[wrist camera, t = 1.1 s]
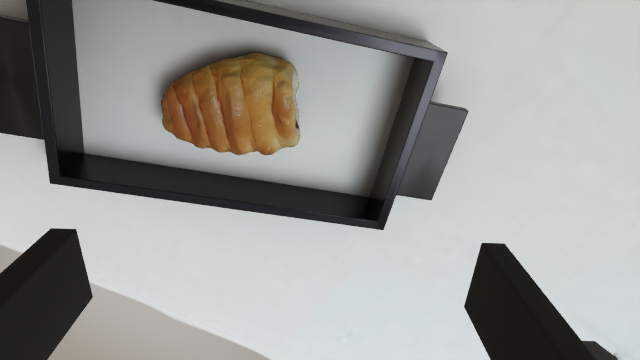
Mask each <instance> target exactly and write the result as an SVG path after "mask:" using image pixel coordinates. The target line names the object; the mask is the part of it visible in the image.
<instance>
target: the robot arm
mask: <svg viewBox="0 0 640 360" xmlns="http://www.w3.org/2000/svg"><path fill="white" fill-rule="evenodd" d="M92 297H93V296H92V292H91V288H90V284H89V280H88V276H87V272H86V268H85V264H84V260H83V256H82V252H81V248H80V244H79V239H78V235H77V231H76V229H52V228H51V229H50V230H49V231H48V232H47V233H45V234H44V235H43V236H42V237H41V238H40V239H39V240H38V241H36V242H35V243H34V244H33V245H32V246H31V247H30V248H29V249H27V250H26V251H25V252H24V253H23V254H22V255H21V256H20V257H18V258H17V259H16V260H15V261H14V262H13V263H12V264H11V265H9V266H8V267H7V268H6V269H5V270H4V271H3V272H2V273H0V360H47V359H48V358H49V356H50V355H51V354H52V352H53V351H54V350H55V348H56V347H57V345H58V344H59V343H60V341H61V340H62V339H63V337H64V336H65V334H66V333H67V332H68V330H69V329H70V327H71V326H72V325H73V323H74V322H75V321H76V319H77V318H78V316H79V315H80V314H81V312H82V311H83V310H84V308H85V307H86V306H87V304H88V303H89V301H90V300H91V299H92ZM464 307H465V309H466V311H467V313H468V315H469V317H470V319H471V321H472V323H473V325H474V327H475V329H476V331H477V333H478V335H479V337H480V339H481V341H482V343H483V345H484V347H485V349H486V351H487V353H488V355H489V357H490V359H491V360H618V359H617V358H616V357H614V356H613V355H612V354H611V353H609V352H608V351H607V350H605V349H604V348H603V347H601V346H600V345H599V344H598V343H596V342H595V341H581V340H580V338H579V337H578V336H577V335H576V333H575V332H574V331H573V330H572V328H571V327H570V326H569V325H568V323H567V322H566V321H565V319H564V318H563V317H562V316H561V314H560V313H559V312H558V311H557V309H556V308H555V307H554V306H553V304H552V303H551V302H550V301H549V299H548V298H547V297H546V296H545V294H544V293H543V292H542V290H541V289H540V288H539V287H538V285H537V284H536V283H535V282H534V280H533V279H532V278H531V277H530V275H529V274H528V273H527V272H526V270H525V269H524V268H523V267H522V265H521V264H520V263H519V261H518V260H517V259H516V258H515V256H514V255H513V254H512V253H511V251H510V250H509V249H508V248H507V246H506V245H505V244H497V243H482V244H481V248H480V252H479V255H478V259H477V262H476V266H475V270H474V273H473V277H472V281H471V284H470V288H469V291H468V295H467V299H466V302H465V306H464Z"/></svg>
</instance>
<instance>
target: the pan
mask: <svg viewBox="0 0 640 360" xmlns="http://www.w3.org/2000/svg"><path fill="white" fill-rule="evenodd" d="M154 1H158V2H163V3H167V4H172V5H176V6H181V7H186V8H190V9H195V10H199V11H204V12H208V13H213V14H218V15H222V16H227V17H231V18H236V19H240V20H245V21H249V22H254V23H259V24H263V25H268V26H272V27H277V28H281V29H286V30H291V31H295V32H300V33H304V34H309V35H313V36H318V37H322V38H327V39H332V40H336V41H341V42H345V43H350V44H354V45H359V46H364V47H368V48H373V49H377V50H382V51H386V52H391V53H395V54H400V55H405V56H409V57H414V58H415V59H414V62H413V65H412V68H411V71H410V74H409V77H408V80H407V83H406V86H405V89H404V92H403V95H402V99H401V102H400V105H399V108H398V111H397V114H396V117H395V120H394V123H393V126H392V129H391V132H390V135H389V138H388V141H387V145H386V148H385V151H384V154H383V157H382V160H381V163H380V166H379V169H378V172H377V175H376V178H375V181H374V184H373V188H372V191H371V194H370V197H363V196H357V195H350V194H344V193H337V192H330V191H324V190H317V189H311V188H304V187H298V186H291V185H285V184H278V183H272V182H265V181H259V180H252V179H246V178H239V177H233V176H226V175H220V174H213V173H207V172H200V171H194V170H187V169H181V168H174V167H168V166H161V165H155V164H148V163H142V162H135V161H129V160H122V159H115V158H109V157H102V156H96V155H89V154H84V148H83V135H82V123H81V110H80V98H79V85H78V73H77V60H76V48H75V35H74V23H73V11H72V0H26V3H27V11H28V18H29V21H28V20H23V19H18V18H13V17H8V16H3V15H0V133H5V134H11V135H18V136H24V137H30V138H37V139H43V140H45V148H46V155H47V163H48V170H49V179H50V183H51V184H58V185H65V186H73V187H80V188H87V189H94V190H101V191H108V192H115V193H123V194H130V195H137V196H144V197H151V198H158V199H165V200H173V201H180V202H187V203H194V204H201V205H208V206H215V207H222V208H230V209H237V210H244V211H251V212H258V213H265V214H272V215H280V216H287V217H294V218H301V219H308V220H315V221H322V222H330V223H337V224H344V225H351V226H358V227H365V228H372V229H379V230H384V227H385V224H386V221H387V219H388V216H389V213H390V210H391V208H392V205H393V202H394V199H395V196H396V195H401V196H407V197H413V198H420V199H426V200H432V198H433V195H434V193H435V190H436V188H437V186H438V183H439V181H440V178H441V176H442V174H443V171H444V169H445V166H446V164H447V162H448V159H449V157H450V154H451V152H452V150H453V147H454V145H455V142H456V140H457V138H458V135H459V133H460V130H461V128H462V126H463V123H464V121H465V118H466V116H467V114H468V110H466V109H465V108H461V107H456V106H451V105H446V104H441V103H436V102H431V101H430V100H431V97H432V95H433V92H434V89H435V86H436V84H437V81H438V78H439V75H440V73H441V70H442V67H443V64H444V62H445V59H446V56H447V52H446V51H444V50H442V49H440V48H439V47H437V46H435V45H434V44H432V43H430V42H427V41H422V40H418V39H414V38H409V37H405V36H400V35H396V34H392V33H387V32H383V31H378V30H374V29H370V28H365V27H361V26H357V25H352V24H348V23H343V22H339V21H335V20H330V19H326V18H321V17H317V16H313V15H308V14H304V13H299V12H295V11H291V10H286V9H282V8H277V7H273V6H269V5H264V4H260V3H256V2H251V1H247V0H154Z"/></svg>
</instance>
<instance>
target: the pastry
mask: <svg viewBox="0 0 640 360" xmlns="http://www.w3.org/2000/svg"><path fill="white" fill-rule="evenodd" d="M298 84H299V82H298V74H297V71H296V69H295V68H294V66H293V65H292V64H291V63H290V62H288V61H286V60H284V59H281V58H277V57H272V56H268V55H265V54H262V53H252V54H248V55H244V56H240V57H235V58H228V59H222V60H219V61H217V62H215V63H213V64H210V65H208V66H206V67H204V68H200V69H198V70H196V71H193V72H190V73H188V74H186V75H184V76H182V77H180V78H179V79H178V80H176V81H173V82H172V83H171V84H170V86H169V87H168V89H167V90H166V92H165V94H164V95H163V98H162V101H161V106H162V113H163V119H162V121H163V126H164V128H165V129H166V130H167V131H168V132H171V133H172V134H174V135H175V136H176V138H178V139H180V140H183V141H187V142H190V143H192V144H194V145H195V146H196V147H199V148H212V149H214V150H216V151H217V152H233V153H234V154H236V155H241V154H246V153H248V152H255V151H258V152H260V153H261V154H263V155H270V154H273V153H274V152H276V151H278V150H280V149H282V148H284V147H294V146H296V145H297V144H298V142H299V139H300V129H299V126H298V123H299V111H298V107H297V101H296V97H295V94H296V92H297V89H298Z"/></svg>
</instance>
